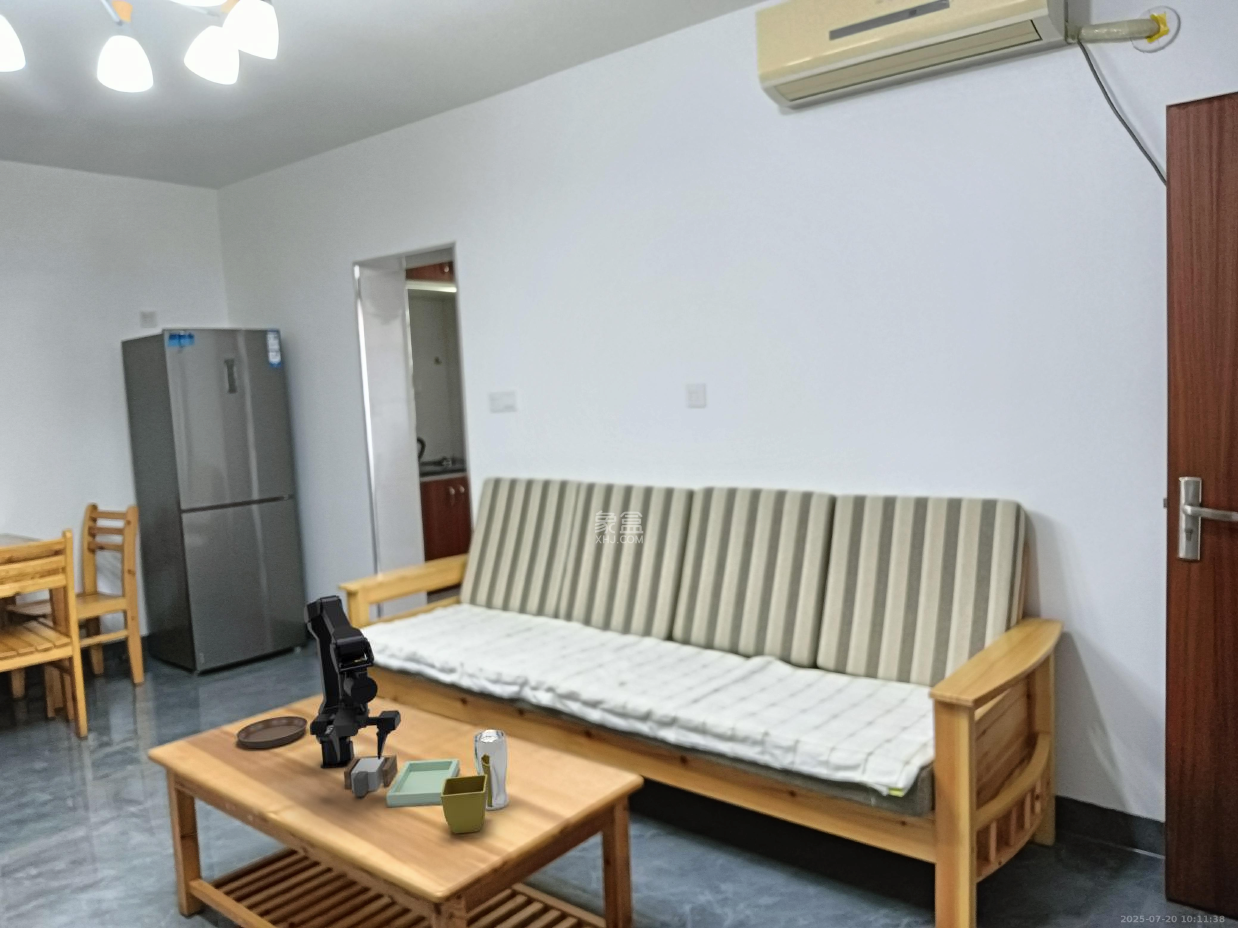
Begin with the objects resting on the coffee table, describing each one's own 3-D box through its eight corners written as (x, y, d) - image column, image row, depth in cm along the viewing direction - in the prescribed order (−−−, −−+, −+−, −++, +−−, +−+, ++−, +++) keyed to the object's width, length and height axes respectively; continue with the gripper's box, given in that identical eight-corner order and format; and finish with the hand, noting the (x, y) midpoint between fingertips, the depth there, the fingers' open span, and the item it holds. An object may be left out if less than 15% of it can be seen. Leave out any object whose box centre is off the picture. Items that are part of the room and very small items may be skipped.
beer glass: (516, 797, 196) (511, 730, 195) (501, 812, 190) (496, 742, 189) (487, 794, 199) (482, 728, 197) (472, 809, 192) (466, 740, 191)
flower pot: (448, 819, 188) (444, 777, 188) (490, 815, 189) (487, 773, 188) (443, 839, 180) (440, 795, 179) (488, 835, 180) (484, 791, 180)
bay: (345, 788, 206) (343, 771, 206) (355, 773, 214) (354, 756, 214) (388, 786, 206) (387, 769, 206) (397, 771, 214) (396, 754, 214)
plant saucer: (223, 744, 239) (222, 733, 238) (282, 721, 253) (281, 711, 253) (263, 756, 228) (262, 745, 228) (322, 732, 243) (321, 721, 243)
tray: (387, 806, 196) (386, 795, 195) (406, 771, 213) (406, 761, 213) (444, 803, 195) (444, 792, 195) (459, 769, 213) (458, 758, 213)
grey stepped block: (347, 800, 200) (345, 779, 200) (362, 776, 212) (361, 757, 212) (371, 799, 200) (370, 777, 200) (386, 775, 212) (384, 755, 212)
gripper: (297, 706, 192) (304, 777, 194) (385, 701, 192) (391, 773, 193) (315, 688, 203) (321, 756, 205) (398, 684, 203) (404, 752, 204)
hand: (358, 759), depth 201 cm, fingers open, 9 cm apart
